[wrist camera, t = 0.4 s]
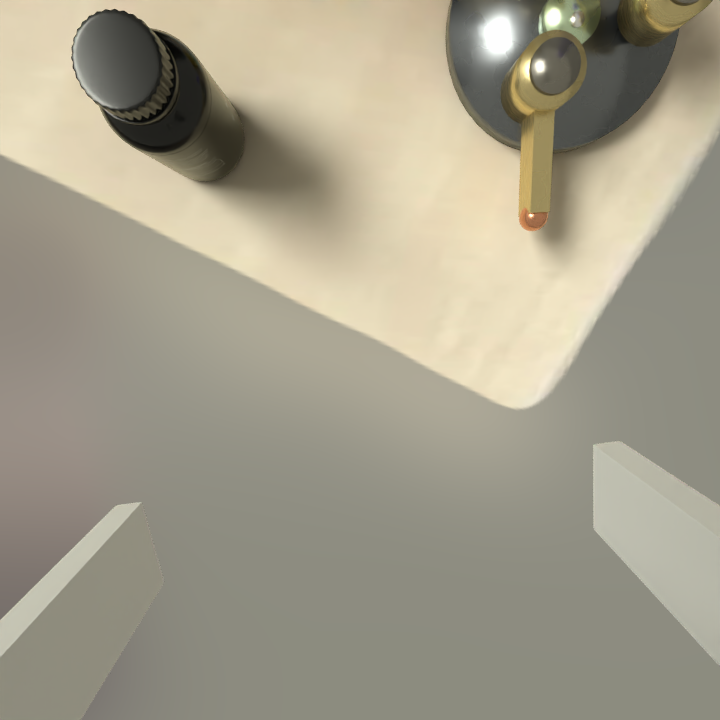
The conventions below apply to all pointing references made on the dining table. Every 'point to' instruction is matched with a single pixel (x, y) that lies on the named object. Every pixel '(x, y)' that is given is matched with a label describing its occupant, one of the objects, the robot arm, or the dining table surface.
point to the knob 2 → (654, 18)
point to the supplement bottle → (157, 95)
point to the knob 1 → (541, 113)
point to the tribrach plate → (512, 36)
